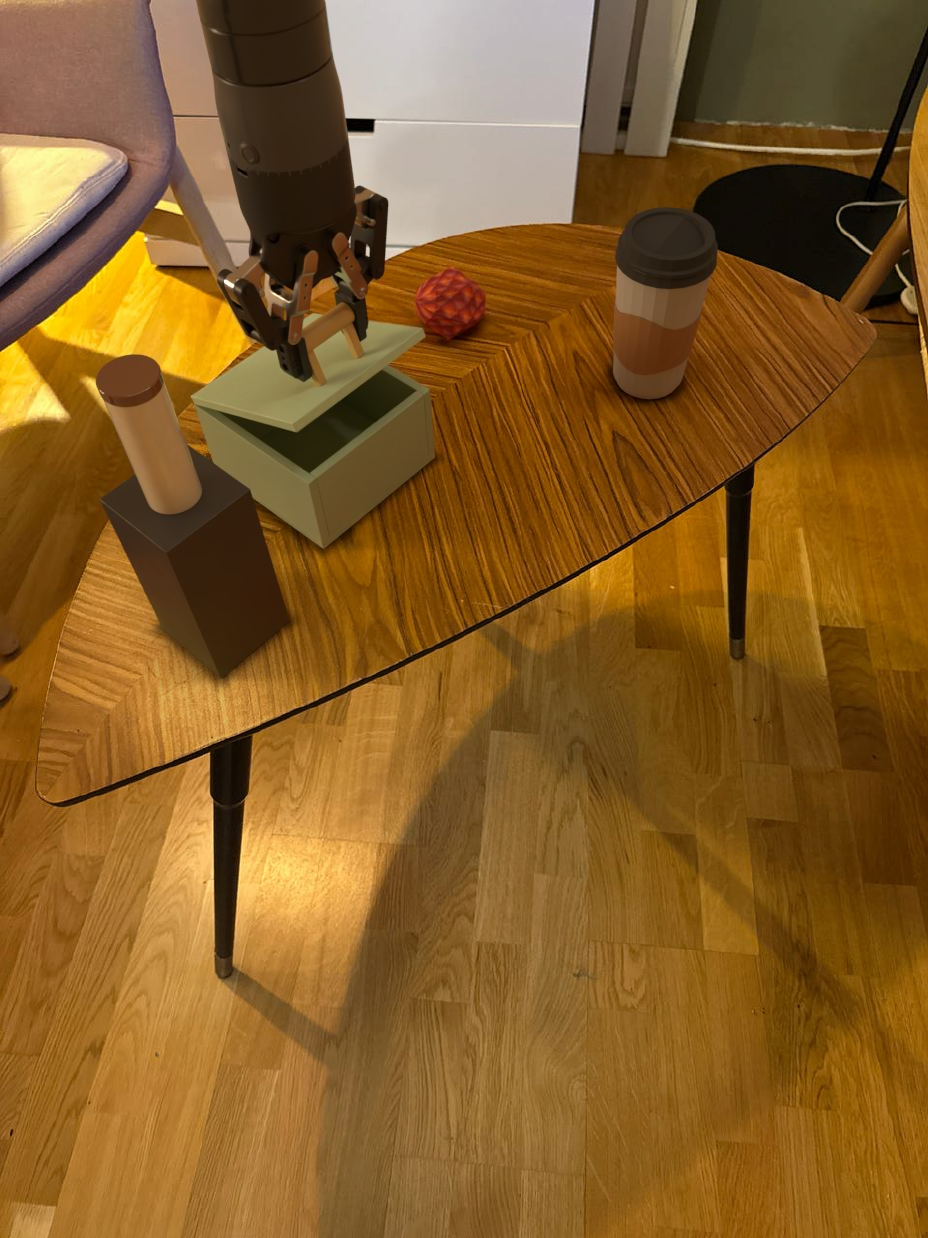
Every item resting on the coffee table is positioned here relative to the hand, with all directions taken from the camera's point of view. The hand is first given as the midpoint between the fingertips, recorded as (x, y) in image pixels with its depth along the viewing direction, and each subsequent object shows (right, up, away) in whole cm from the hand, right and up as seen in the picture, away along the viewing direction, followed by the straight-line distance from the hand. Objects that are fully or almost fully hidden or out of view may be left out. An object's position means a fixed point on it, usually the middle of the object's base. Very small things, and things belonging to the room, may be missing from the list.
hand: (326, 355), depth 74 cm
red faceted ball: (+9, +9, +23) cm, 26 cm away
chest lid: (-2, 0, +4) cm, 4 cm away
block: (-8, -20, +3) cm, 22 cm away
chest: (-2, -6, +12) cm, 14 cm away
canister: (-9, -12, -10) cm, 17 cm away
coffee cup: (+27, +3, +18) cm, 33 cm away
